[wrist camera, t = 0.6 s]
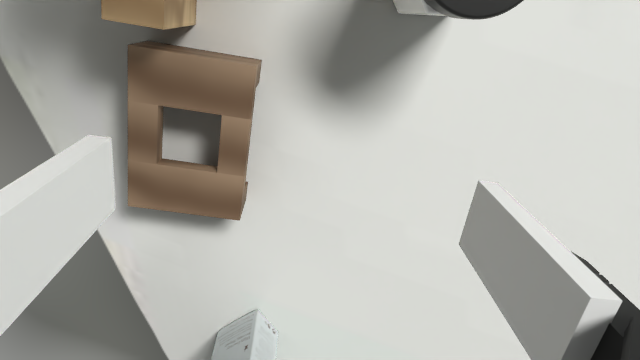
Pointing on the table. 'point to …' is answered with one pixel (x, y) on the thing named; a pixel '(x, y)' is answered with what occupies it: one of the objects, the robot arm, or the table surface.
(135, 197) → the bridge
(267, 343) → the skincare box
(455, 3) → the jar
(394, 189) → the table surface
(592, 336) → the robot arm
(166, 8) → the peg mid
